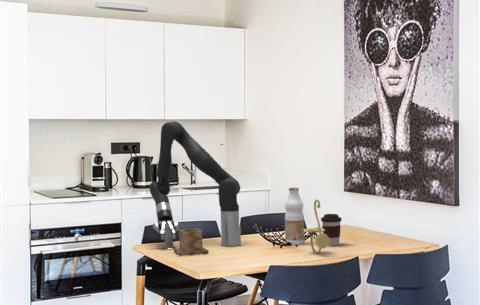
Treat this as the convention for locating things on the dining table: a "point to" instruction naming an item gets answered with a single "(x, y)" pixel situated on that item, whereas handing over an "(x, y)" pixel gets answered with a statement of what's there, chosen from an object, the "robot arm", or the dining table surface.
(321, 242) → the wall sconce
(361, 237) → the dining table surface
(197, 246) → the wooden flanged block
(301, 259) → the dining table surface
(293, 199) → the fruit juice
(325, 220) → the coffee cup
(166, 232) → the grey upright cylinder
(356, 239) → the dining table surface
